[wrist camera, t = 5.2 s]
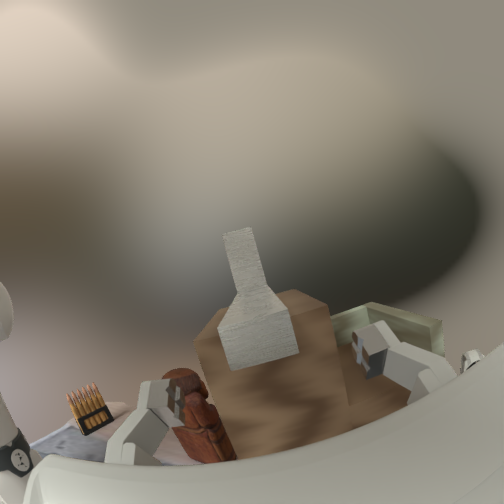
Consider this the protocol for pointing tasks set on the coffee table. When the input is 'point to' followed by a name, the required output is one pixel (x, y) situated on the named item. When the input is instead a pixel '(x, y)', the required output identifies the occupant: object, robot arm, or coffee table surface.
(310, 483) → the robot arm
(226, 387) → the stepped shelf
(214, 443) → the wooden figurine
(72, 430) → the coffee table surface
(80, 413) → the ammunition clip
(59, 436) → the coffee table surface
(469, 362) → the watch
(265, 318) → the aluminium bracket
